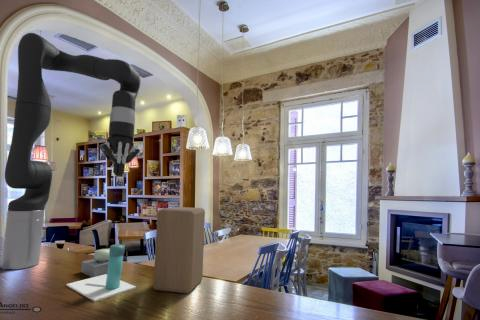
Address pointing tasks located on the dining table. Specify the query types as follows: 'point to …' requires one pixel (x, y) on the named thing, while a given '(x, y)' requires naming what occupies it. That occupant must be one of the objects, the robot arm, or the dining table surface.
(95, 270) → the button housing
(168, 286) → the wooden block
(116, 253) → the marker
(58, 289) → the dining table surface
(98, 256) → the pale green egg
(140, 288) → the dining table surface
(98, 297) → the pad
